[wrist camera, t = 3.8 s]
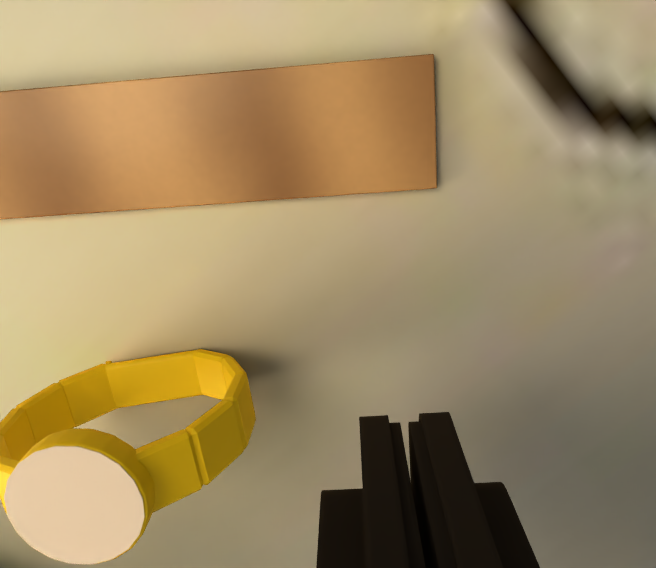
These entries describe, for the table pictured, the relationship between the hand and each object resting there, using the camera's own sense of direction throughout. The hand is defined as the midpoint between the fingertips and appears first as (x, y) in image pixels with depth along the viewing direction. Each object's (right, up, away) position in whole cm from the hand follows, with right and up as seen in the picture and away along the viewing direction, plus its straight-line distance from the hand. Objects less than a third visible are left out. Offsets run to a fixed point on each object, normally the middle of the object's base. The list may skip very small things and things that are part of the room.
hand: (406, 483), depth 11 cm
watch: (-6, +1, +6) cm, 9 cm away
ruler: (-14, +7, +5) cm, 16 cm away
